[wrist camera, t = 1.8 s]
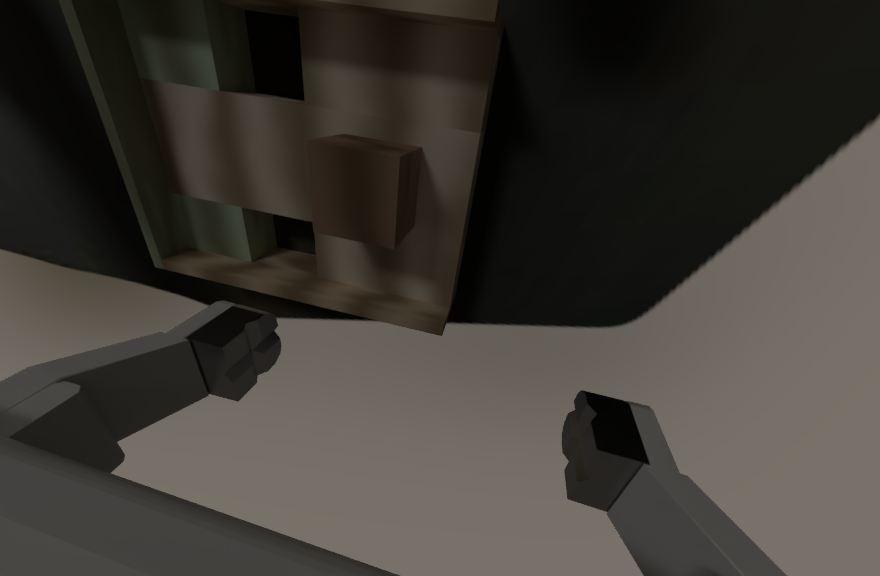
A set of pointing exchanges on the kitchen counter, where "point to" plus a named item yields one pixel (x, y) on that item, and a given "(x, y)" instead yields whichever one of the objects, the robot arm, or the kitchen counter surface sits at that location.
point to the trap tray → (294, 137)
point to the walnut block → (363, 188)
